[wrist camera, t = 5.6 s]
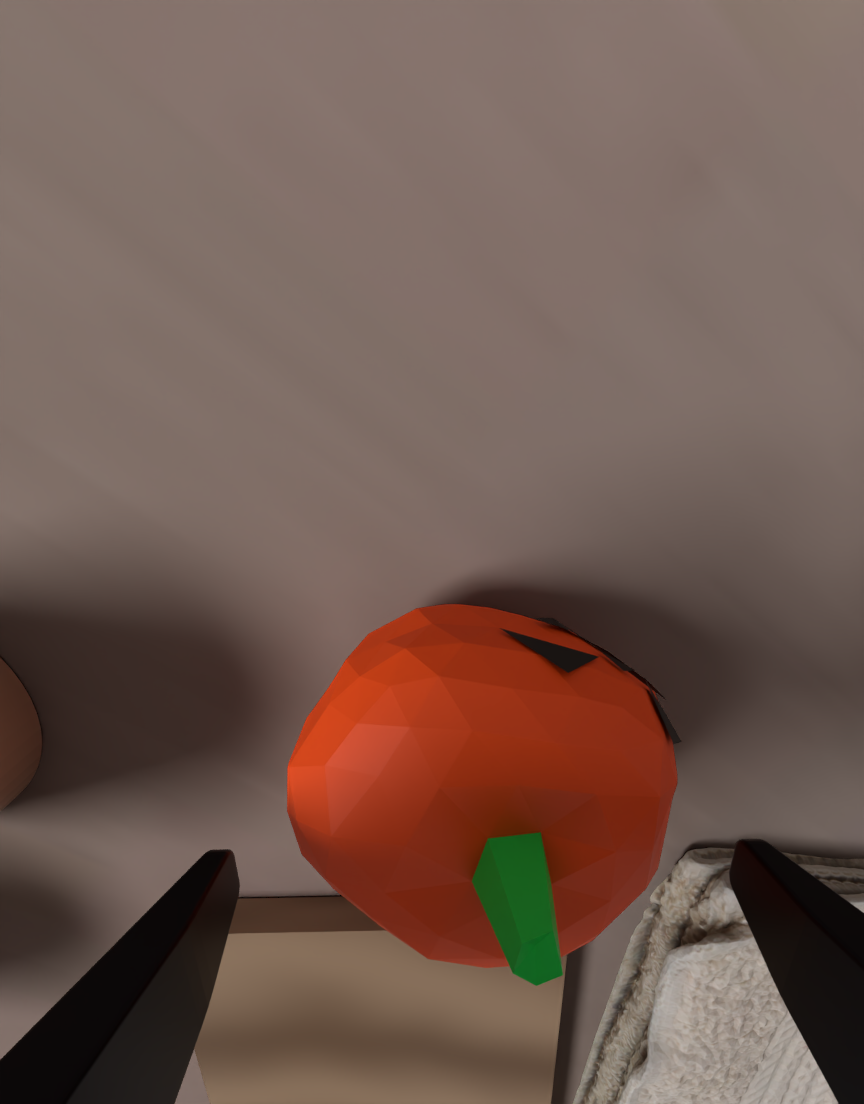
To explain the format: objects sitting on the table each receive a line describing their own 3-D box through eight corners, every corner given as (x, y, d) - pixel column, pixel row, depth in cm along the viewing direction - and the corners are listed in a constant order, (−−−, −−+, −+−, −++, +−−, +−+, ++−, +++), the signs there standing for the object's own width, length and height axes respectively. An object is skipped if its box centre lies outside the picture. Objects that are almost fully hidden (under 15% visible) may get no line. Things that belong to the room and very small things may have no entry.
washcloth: (1008, 843, 15) (1154, 954, 12) (814, 1150, 20) (880, 1278, 17) (647, 820, 14) (705, 929, 11) (548, 1140, 20) (570, 1270, 17)
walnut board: (539, 1111, 18) (545, 1150, 17) (236, 1117, 18) (225, 1157, 17) (560, 892, 14) (570, 927, 13) (179, 899, 14) (161, 935, 13)
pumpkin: (322, 573, 12) (204, 697, 5) (629, 593, 12) (861, 735, 6) (314, 817, 13) (211, 1149, 7) (591, 832, 13) (745, 1166, 7)
